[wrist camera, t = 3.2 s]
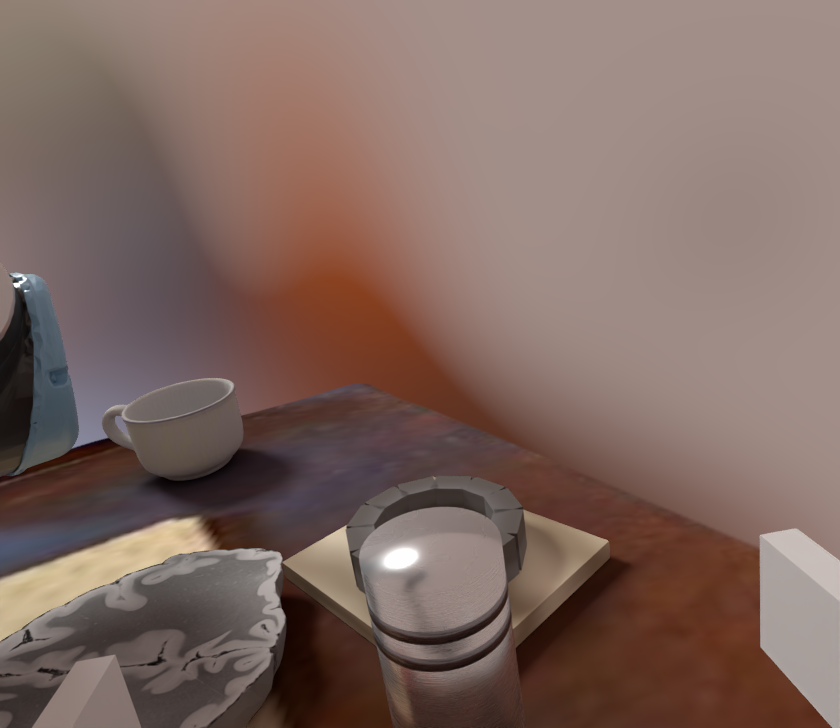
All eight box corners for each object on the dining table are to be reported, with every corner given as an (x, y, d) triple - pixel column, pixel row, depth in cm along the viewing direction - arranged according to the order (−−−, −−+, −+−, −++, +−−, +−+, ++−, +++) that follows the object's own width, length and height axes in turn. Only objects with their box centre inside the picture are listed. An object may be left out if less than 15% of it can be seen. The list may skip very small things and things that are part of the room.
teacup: (270, 443, 63) (253, 374, 61) (212, 493, 53) (189, 413, 51) (164, 446, 67) (145, 382, 65) (92, 494, 57) (67, 419, 55)
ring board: (454, 706, 27) (444, 642, 26) (285, 577, 39) (273, 529, 38) (610, 557, 36) (606, 505, 35) (433, 489, 48) (427, 448, 47)
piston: (472, 875, 20) (426, 616, 17) (380, 780, 24) (329, 555, 21) (558, 767, 24) (532, 533, 21) (465, 698, 28) (431, 493, 24)
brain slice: (86, 601, 40) (73, 565, 39) (324, 576, 39) (315, 538, 38) (-225, 958, 21) (-262, 902, 21) (215, 931, 20) (194, 870, 19)
